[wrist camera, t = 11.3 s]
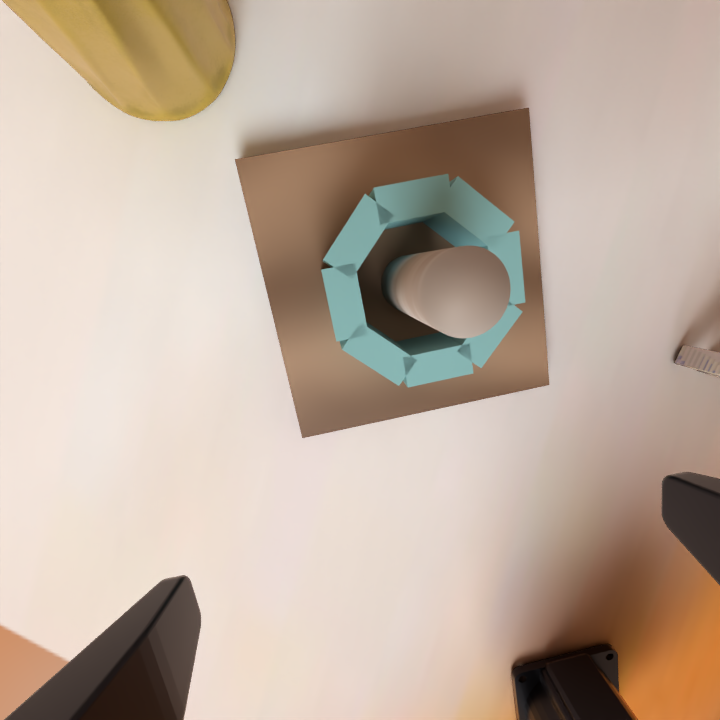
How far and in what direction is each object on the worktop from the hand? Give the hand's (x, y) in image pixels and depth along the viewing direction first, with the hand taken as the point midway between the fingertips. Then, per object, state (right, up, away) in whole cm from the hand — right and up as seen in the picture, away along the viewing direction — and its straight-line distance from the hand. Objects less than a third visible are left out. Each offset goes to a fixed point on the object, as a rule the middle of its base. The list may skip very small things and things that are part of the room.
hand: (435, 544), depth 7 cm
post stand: (+1, +7, +11) cm, 13 cm away
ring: (+1, +7, +10) cm, 12 cm away
